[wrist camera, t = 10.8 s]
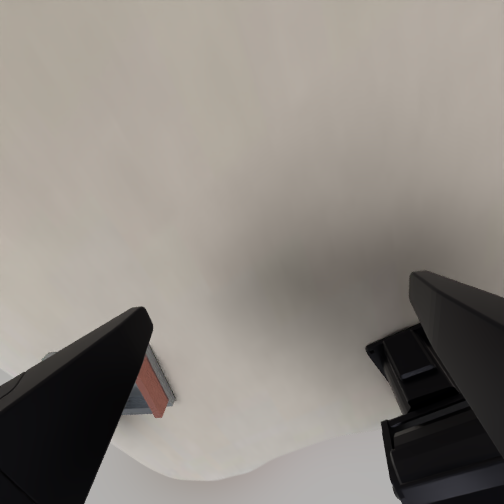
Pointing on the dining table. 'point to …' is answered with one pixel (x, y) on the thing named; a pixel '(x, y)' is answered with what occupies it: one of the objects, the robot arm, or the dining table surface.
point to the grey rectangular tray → (147, 389)
